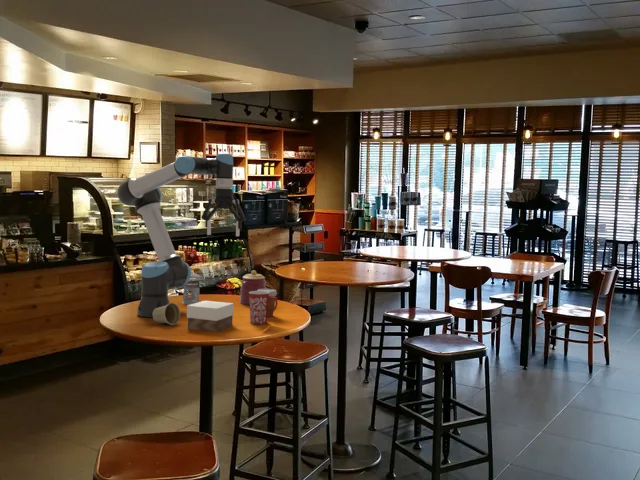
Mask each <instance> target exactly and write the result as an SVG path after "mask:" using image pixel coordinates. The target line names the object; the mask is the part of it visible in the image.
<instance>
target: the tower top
mask: <svg viewBox="0 0 640 480" xmlns="http://www.w3.org/2000/svg"><path fill="white" fill-rule="evenodd" d="M234 305H235V304H234V303H233V302H223V301H213V300H202V301H199V302H198V303H194V304H186V318H187V319H188V318H195V319H204V320H213V321H218V320H221V319H224V318H226V317H229V316H232V315H233V316H234V312H235V311H234Z"/></svg>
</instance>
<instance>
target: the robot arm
mask: <svg viewBox="0 0 640 480" xmlns="http://www.w3.org/2000/svg"><path fill="white" fill-rule="evenodd" d="M215 156H216V157H215V158H213V157H212V158H210V157H199V156H189V155H181V156H177V158H176V159H175V161H174V162H172V163H169V164H167V165H166V166H165V165H164V166H163V167H160V168H158V169H156V170H153V171H151V172H149V173H147V174H144V175H142V176H139V177H138V178H135V177H133V178H132V177H131V178H130V179H127V180H125V181H123V182H122V183H121V184H120V185H119V186H118V188H117V192H116V193H117V198H118V200H119V201H120V202H121V203H122V204H124V205H125V206H128V207H134V208H135V210H136V213H138V215H139V214H140V215H141V216H142V220H143V223H144V225H145V227H146V230H147V233H148V235H149V238H150V241H151V244H152V246H153V249H154V251H155V254H156V256H157V259H158V261H151V262H146V263H144V264H143V266H141V273H140V274H141V275H140V276H141V299H140V300H139V304H138V307H137V309H136V311H137V313H136V314H137V316H141V317H146V318H147V317H148V318H153V315H152V314H153V311H154V309H156V308H159V307H162V306H166V305H167V304H169V303H170V300H169V293H168V292H169V289H176V288H177V289H178V287H179V288H181V287H185V285H186V284H187V283H189V281H190V279H191V278H190V277H191V273H192V268H191V267H190V265H189V264H188V263H186V262H185V261H183V259H182V257H181V255H179V254H177V252H176V251H175V247H174V245H173V243H172V240H171V237H170V234H169V231H168V229H167V226H166V223H165V221H164V219H163V217H162V213H161V211H160V207H161V200H162V191H161V188H160V187H164V186H165V185H169V184H170V183H172V182H175V181H177V180H179V179H182V178H185V177H186V176H188V175H201V176H207V175H210V176H215V187H216V188H215V199H213V198H208V201H207V205H206V207H205V209H204V211H203V213H202V215H201V219H203V220H204V221H205V223H204V224H205V228H206V230H207V231H206V235H207V236H211V235H212V220H211V218H213V216H214V215H215V214H216V212H218V210H229V211H230V213H232V215H233V217H234V218H235V219H236V224H235V237H240V232H241V231H240V230H242V229H243V228H242V227H243V226H242V225H243V221H246V220H247V217H246V216H245V214H244V211H243V209H242V207H241V204H240V199H233V197H234V196H233V193H234V191H233V186H234V178H233V177H234V176H233V175H234V174H233V173H234V156H233V154H231V153H217V154H216V155H215ZM214 203H215V206H214V207H213V208H212V206H213V204H214ZM233 204H234V205H235V208H236V209H234V206H232V205H233ZM211 208H212V210H211ZM210 210H211V211H210ZM236 210H237V211H236Z"/></svg>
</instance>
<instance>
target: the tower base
mask: <svg viewBox="0 0 640 480" xmlns="http://www.w3.org/2000/svg"><path fill="white" fill-rule="evenodd" d="M233 316H234V314H233V315H232V316H229V317H226V318H224V319H221V320H218V321H213V320H204V319H195V318H187V329H188V330H194V331H195V330H196V331H204V332H206V331H207V332H216V333H220V332H222V331H224V330H226V329H228V328H230V327H232V326H233Z"/></svg>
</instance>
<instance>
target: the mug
mask: <svg viewBox="0 0 640 480" xmlns="http://www.w3.org/2000/svg"><path fill="white" fill-rule="evenodd" d="M272 298H273V299H275V305H274V309H273V311H272V312H271V313H270V314H269V315H268V303H269V301H270V300H271V299H272ZM249 299H250V305H249V321H250V322H249V323H250V324H251V325H252V324H253V325H266V324H267V323H268V319H269V318H271V317H270V316H271V315H272V313H273V314H274V312H275V311H276V310H277V307H278V299H277V297H273V296H272V297H269V292H267V291H251V292H249Z"/></svg>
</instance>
